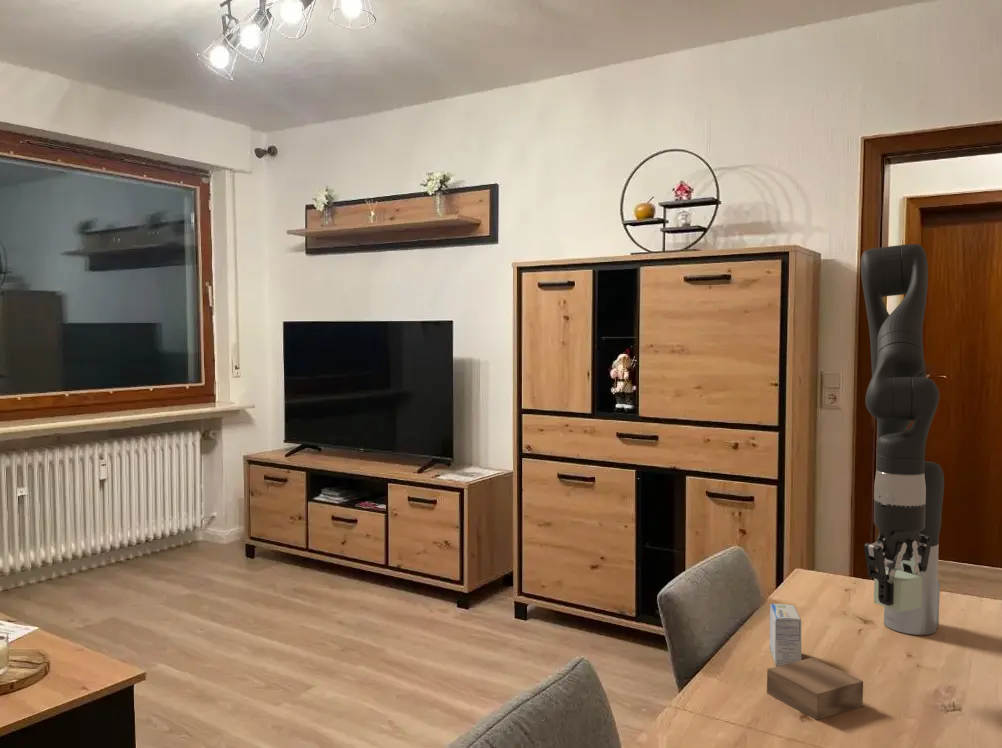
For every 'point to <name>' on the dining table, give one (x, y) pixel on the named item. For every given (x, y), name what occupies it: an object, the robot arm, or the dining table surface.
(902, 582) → the sage green cube
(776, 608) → the medicine box
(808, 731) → the dining table surface
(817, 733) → the dining table surface
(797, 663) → the walnut block
